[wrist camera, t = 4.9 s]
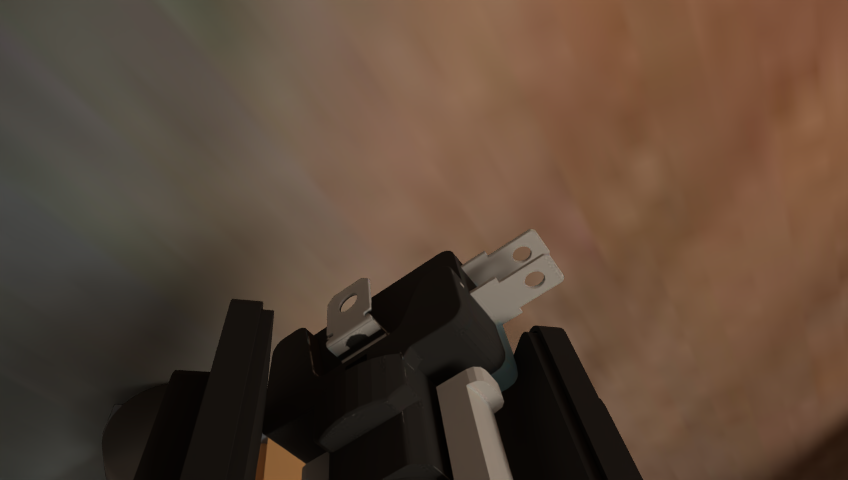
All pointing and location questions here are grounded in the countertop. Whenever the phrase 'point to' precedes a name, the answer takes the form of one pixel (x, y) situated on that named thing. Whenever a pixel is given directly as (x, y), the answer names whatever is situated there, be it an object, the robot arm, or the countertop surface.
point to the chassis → (133, 428)
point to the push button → (408, 372)
